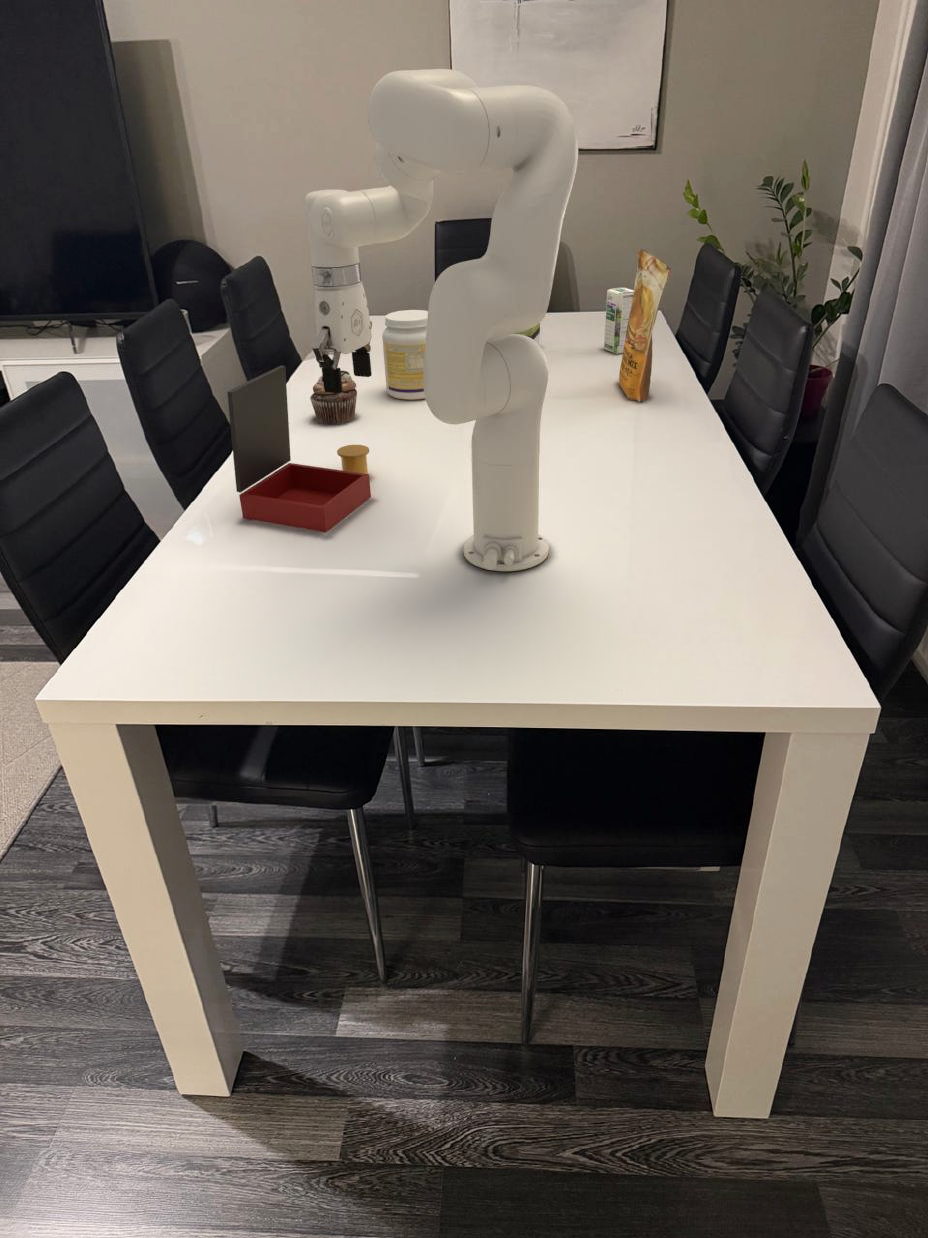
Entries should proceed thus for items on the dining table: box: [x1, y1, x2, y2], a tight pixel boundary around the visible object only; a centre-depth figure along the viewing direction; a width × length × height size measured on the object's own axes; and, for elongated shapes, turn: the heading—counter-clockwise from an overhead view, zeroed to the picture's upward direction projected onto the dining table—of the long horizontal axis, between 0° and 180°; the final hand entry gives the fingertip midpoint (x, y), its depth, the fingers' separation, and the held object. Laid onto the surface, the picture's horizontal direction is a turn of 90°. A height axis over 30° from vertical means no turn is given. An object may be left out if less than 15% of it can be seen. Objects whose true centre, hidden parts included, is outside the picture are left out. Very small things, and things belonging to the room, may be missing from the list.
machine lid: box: [226, 365, 292, 494], centre depth 147 cm, size 16×15×1 cm
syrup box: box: [603, 287, 634, 355], centre depth 226 cm, size 6×6×14 cm
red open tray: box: [238, 462, 372, 533], centre depth 150 cm, size 16×15×5 cm
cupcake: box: [309, 370, 358, 426], centre depth 189 cm, size 10×10×10 cm
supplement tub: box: [381, 309, 428, 401], centre depth 201 cm, size 12×12×17 cm
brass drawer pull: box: [336, 444, 370, 474], centre depth 161 cm, size 6×6×5 cm
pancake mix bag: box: [618, 248, 672, 403], centre depth 194 cm, size 7×19×28 cm, turn 2°
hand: (348, 383), depth 154 cm, fingers open, 9 cm apart
